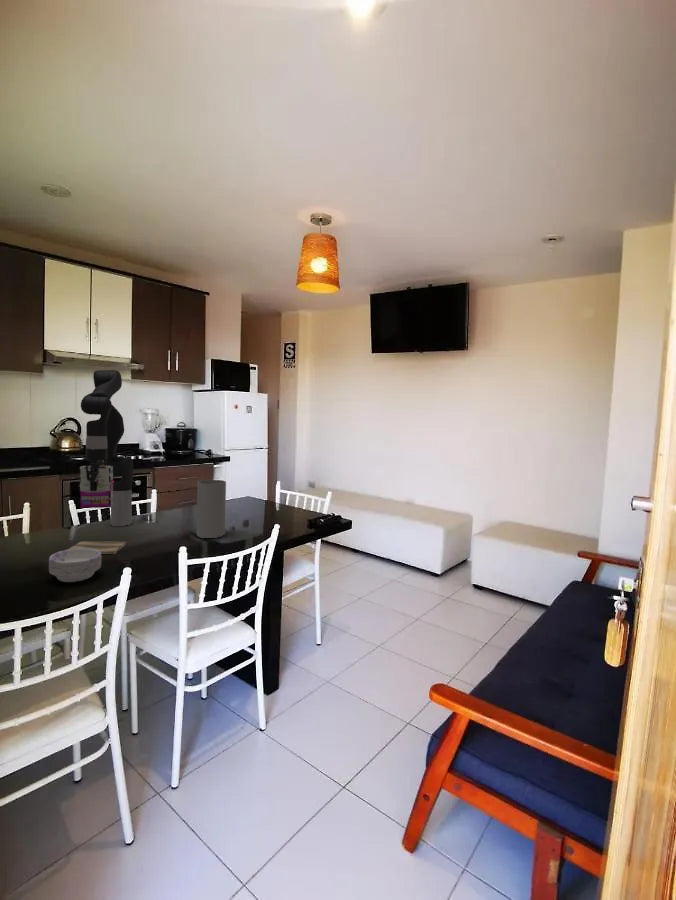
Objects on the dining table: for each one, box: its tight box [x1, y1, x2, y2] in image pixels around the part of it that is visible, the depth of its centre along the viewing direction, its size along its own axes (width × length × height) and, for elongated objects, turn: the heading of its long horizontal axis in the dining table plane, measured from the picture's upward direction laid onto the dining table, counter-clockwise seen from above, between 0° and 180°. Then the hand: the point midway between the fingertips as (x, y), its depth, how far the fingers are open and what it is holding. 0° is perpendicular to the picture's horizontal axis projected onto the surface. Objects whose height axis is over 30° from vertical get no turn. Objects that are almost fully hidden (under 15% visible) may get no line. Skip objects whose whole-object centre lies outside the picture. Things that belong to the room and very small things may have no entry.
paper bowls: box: [48, 548, 102, 583], centre depth 150 cm, size 15×15×8 cm
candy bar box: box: [79, 465, 114, 509], centre depth 178 cm, size 11×5×16 cm, turn 105°
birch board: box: [67, 540, 128, 555], centre depth 180 cm, size 14×18×1 cm
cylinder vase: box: [196, 479, 227, 539], centre depth 205 cm, size 12×12×25 cm
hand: (96, 489), depth 178 cm, fingers closed on candy bar box, 5 cm apart
